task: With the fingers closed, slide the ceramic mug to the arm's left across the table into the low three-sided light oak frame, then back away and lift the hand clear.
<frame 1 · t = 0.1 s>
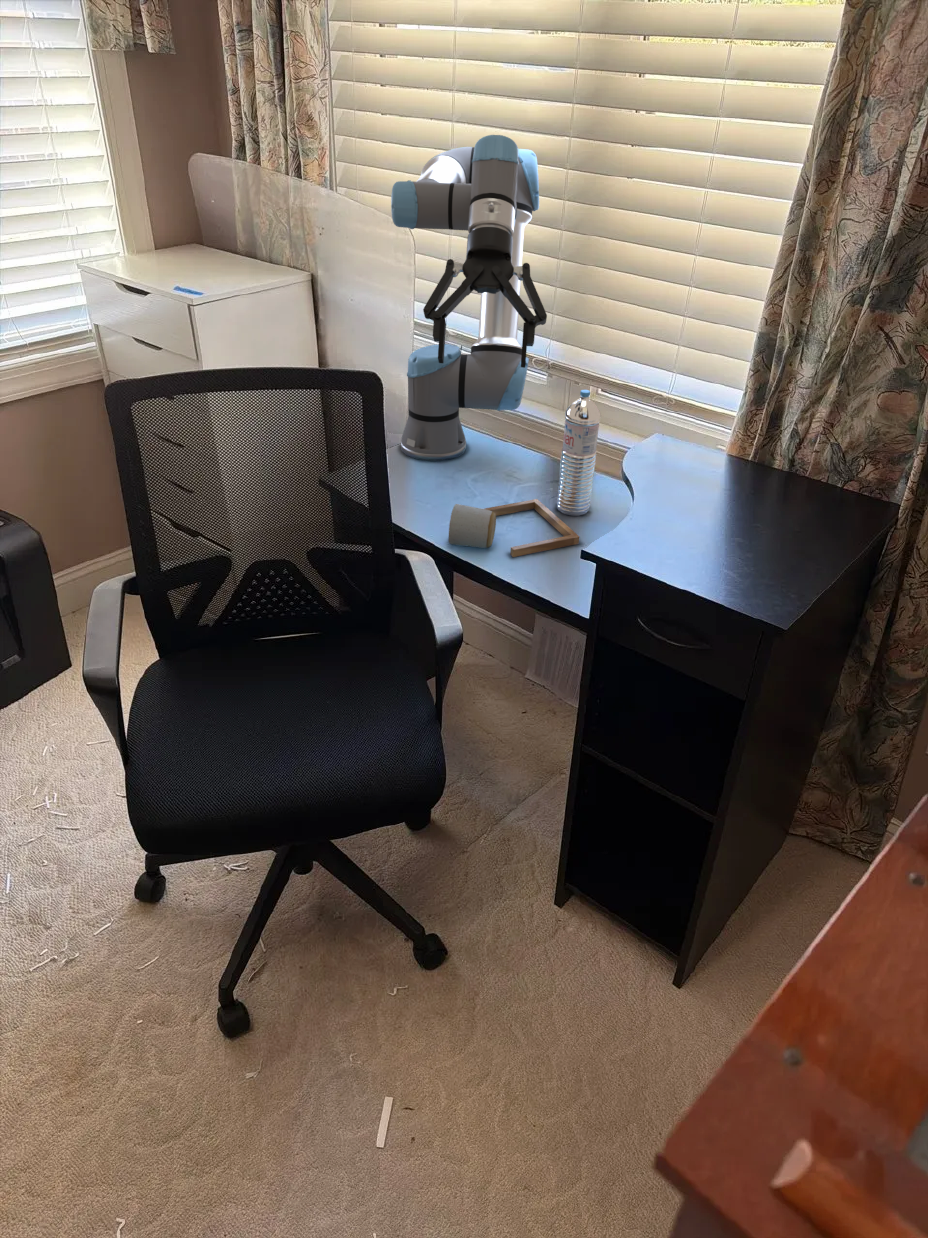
hand: (481, 362, 140), 36 cm above the table, tool tilted 35°, fingers open, 13 cm apart
water bottle: (572, 510, 176), on the table
ceramic mug: (471, 541, 164), on the table
oak frame: (522, 530, 168), on the table
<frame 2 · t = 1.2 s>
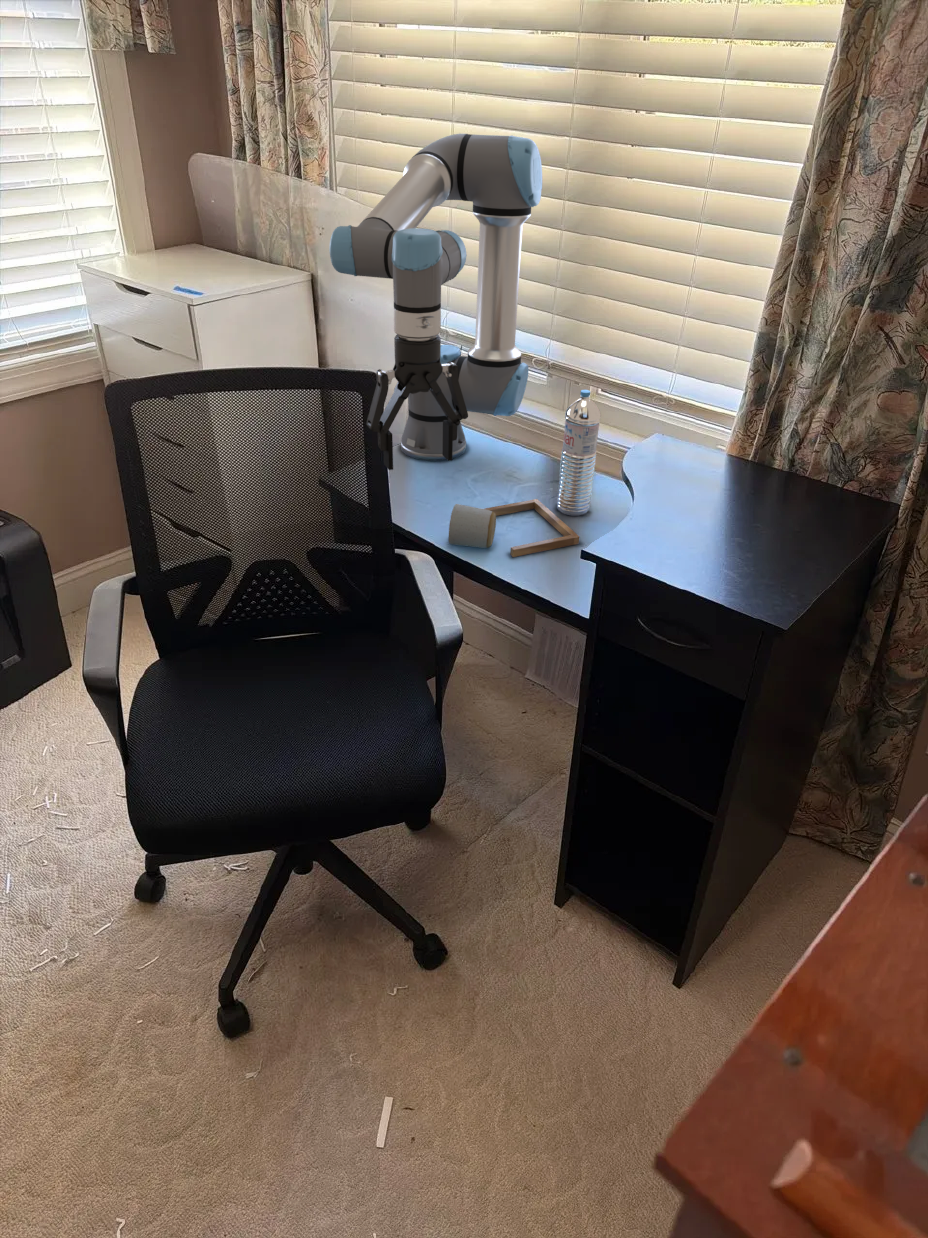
hand: (418, 462, 150), 18 cm above the table, tool pointing down, fingers open, 10 cm apart
nothing on the table moved.
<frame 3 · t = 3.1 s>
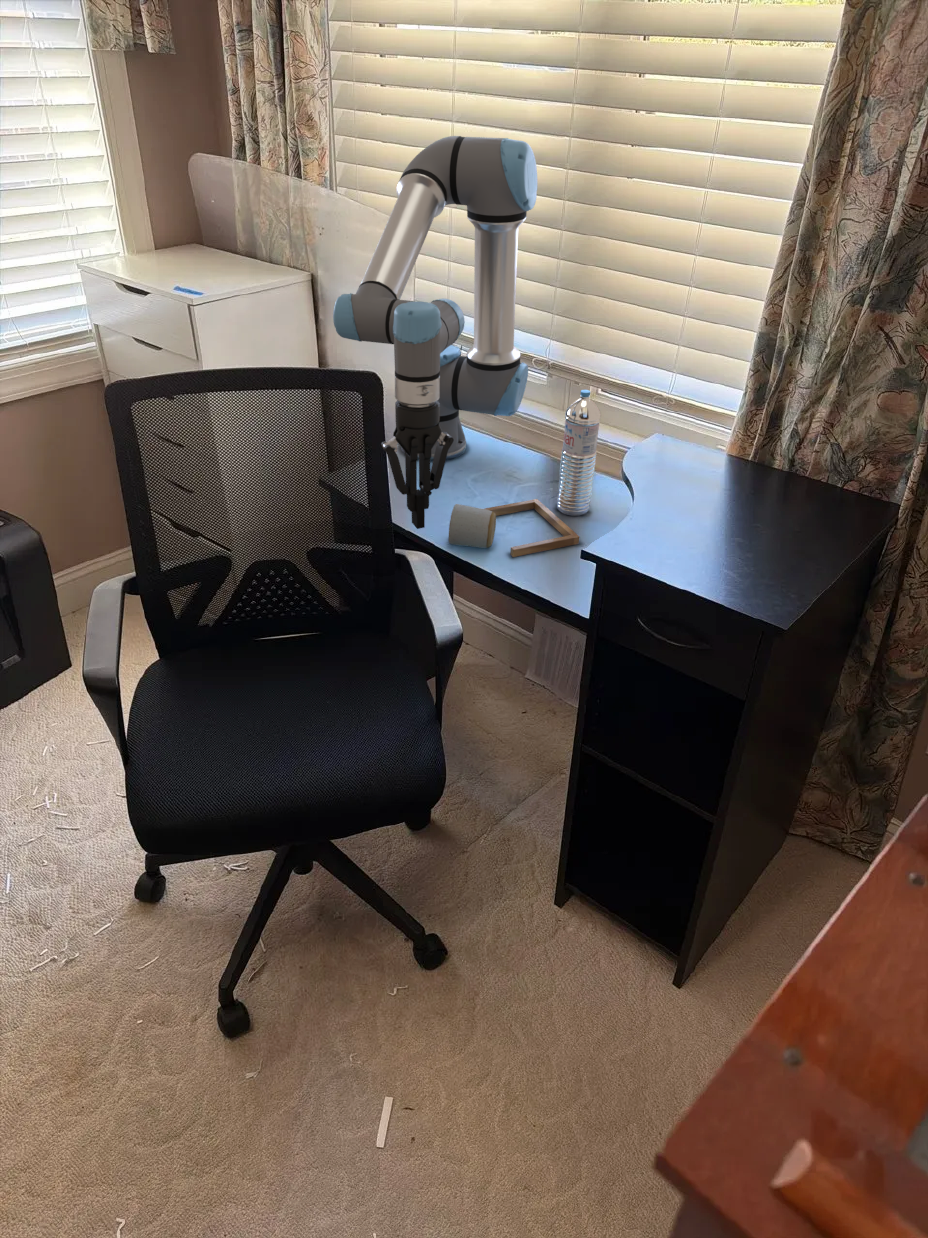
hand: (418, 524, 157), 6 cm above the table, tool pointing down, fingers closed
nothing on the table moved.
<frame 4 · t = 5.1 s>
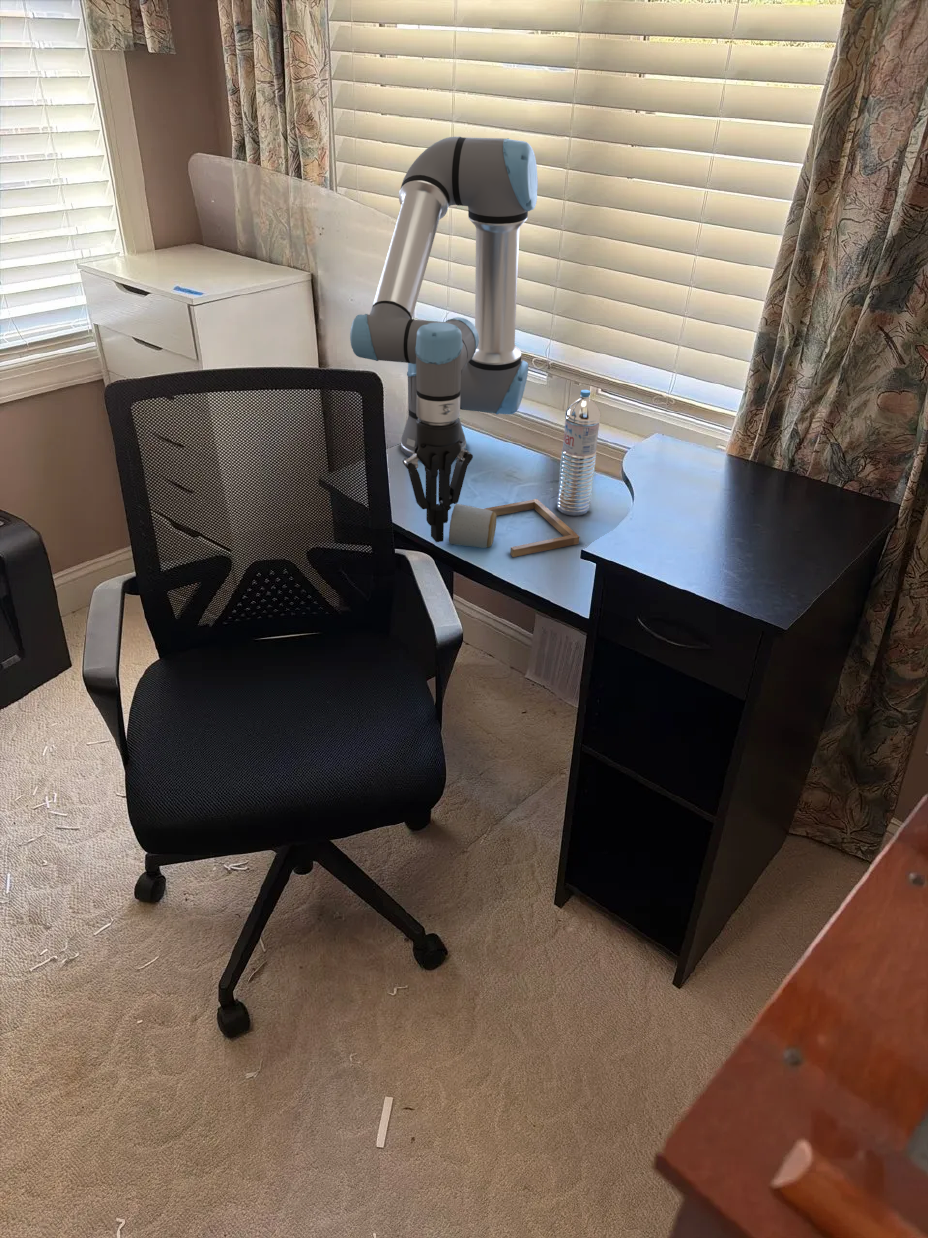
hand: (437, 538, 160), 2 cm above the table, tool pointing down, fingers closed
ceramic mug: (471, 541, 164), on the table, touching gripper
everything else where it was.
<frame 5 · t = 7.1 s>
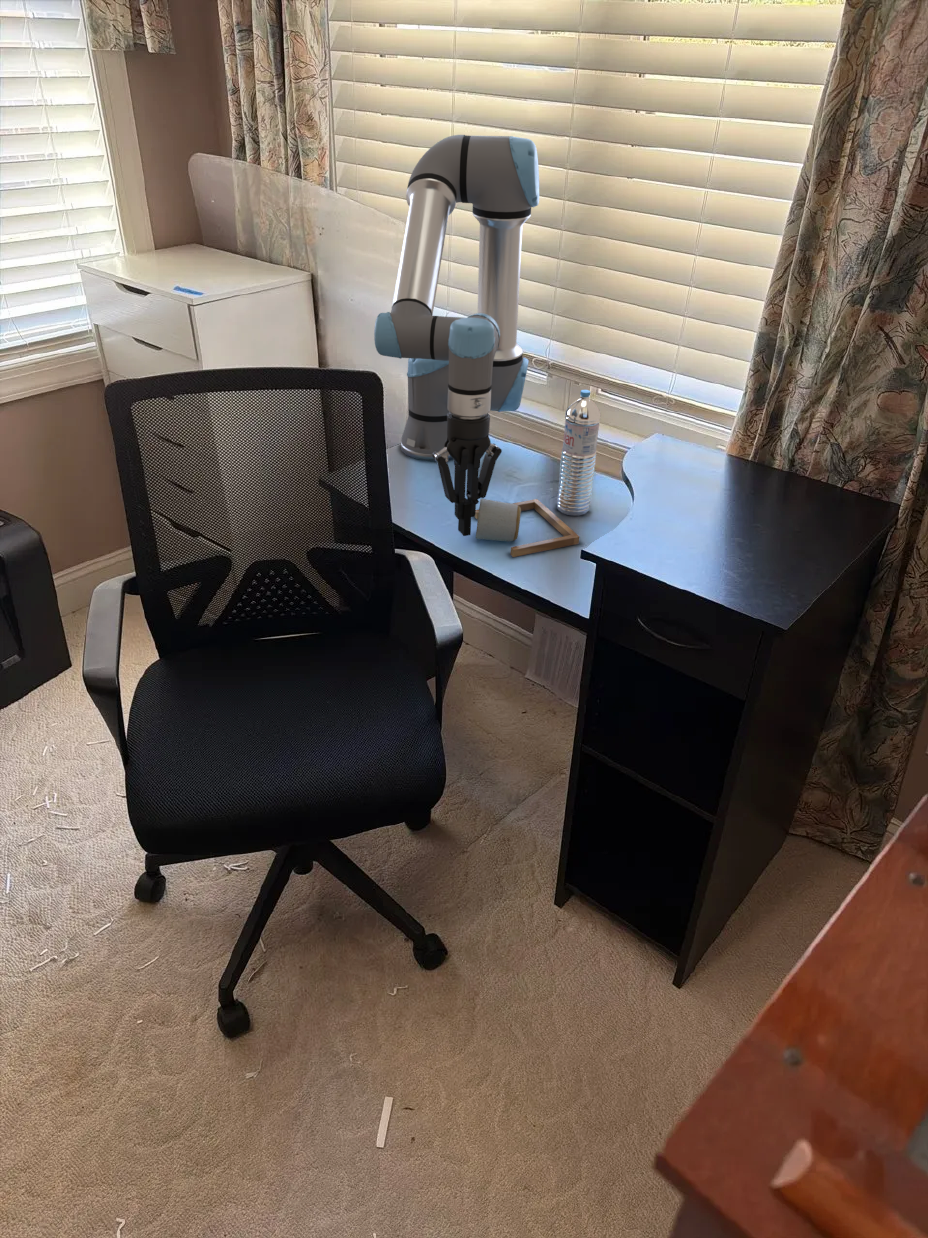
hand: (464, 532, 162), 2 cm above the table, tool pointing down, fingers closed
ceramic mug: (495, 535, 166), on the table, touching gripper
everything else where it was.
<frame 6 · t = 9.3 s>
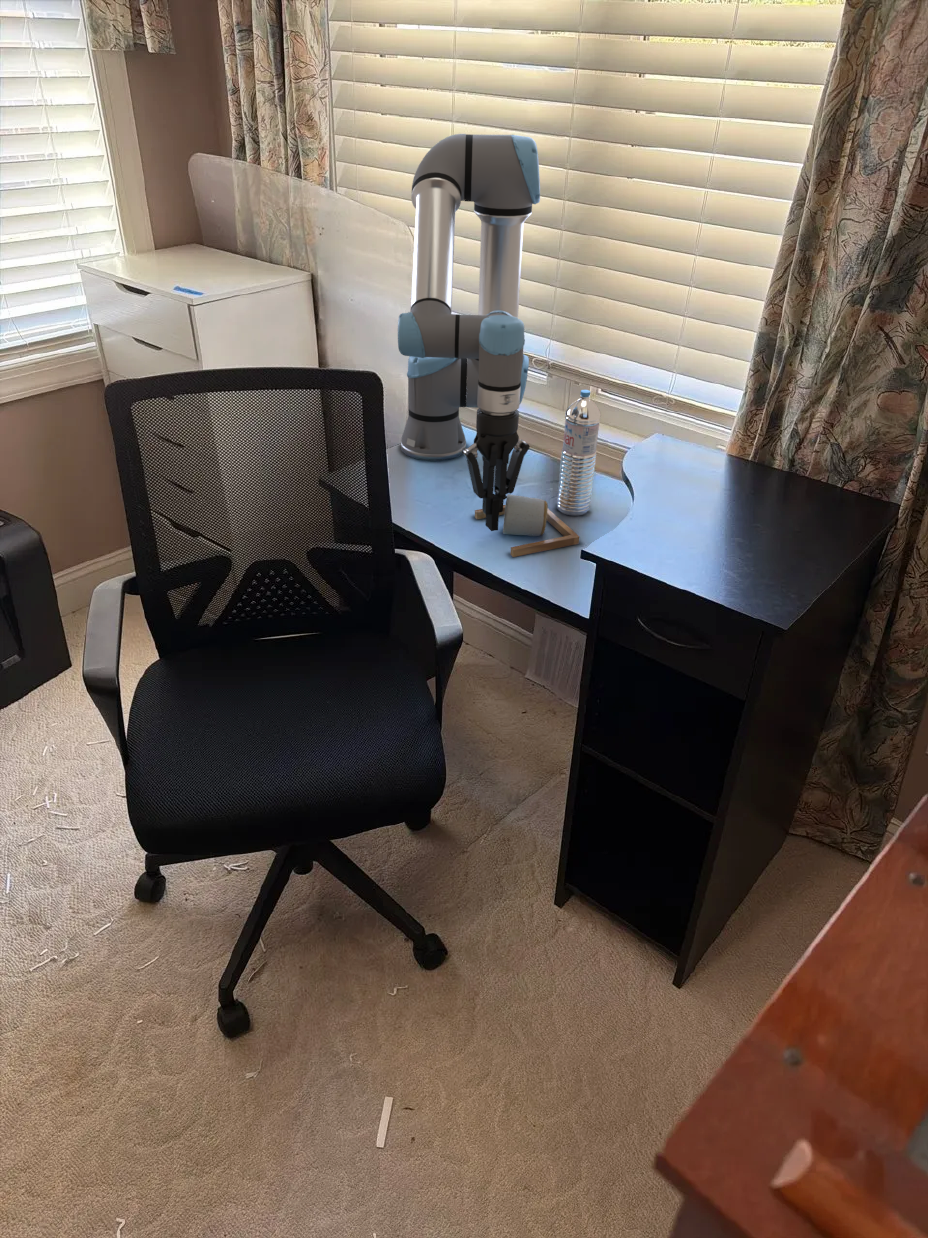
hand: (491, 527, 164), 2 cm above the table, tool pointing down, fingers closed
ceramic mug: (521, 530, 168), on the table, touching gripper
everything else where it was.
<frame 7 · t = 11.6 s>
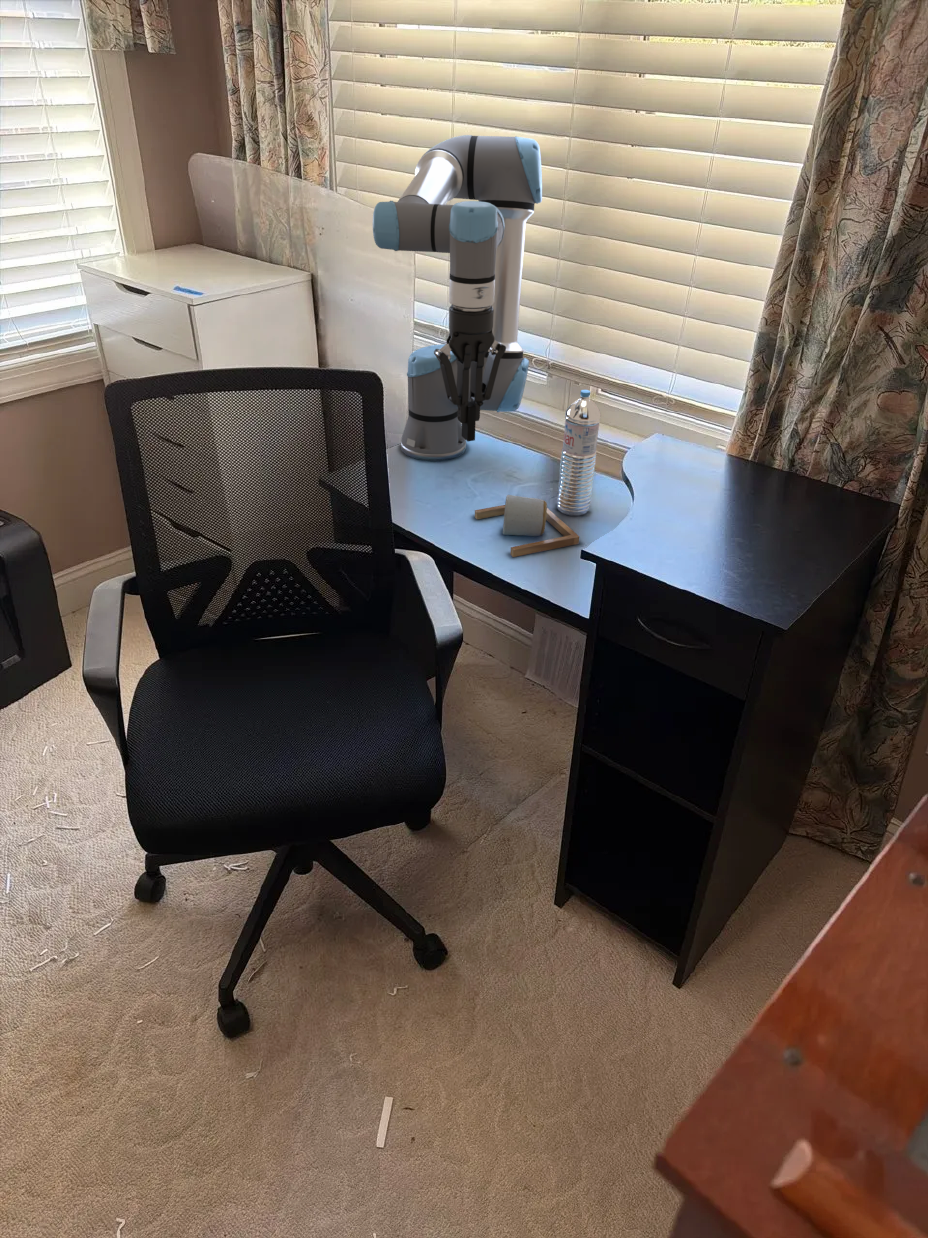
hand: (468, 437, 156), 19 cm above the table, tool pointing down, fingers closed
ceramic mug: (521, 530, 168), on the table
everything else where it was.
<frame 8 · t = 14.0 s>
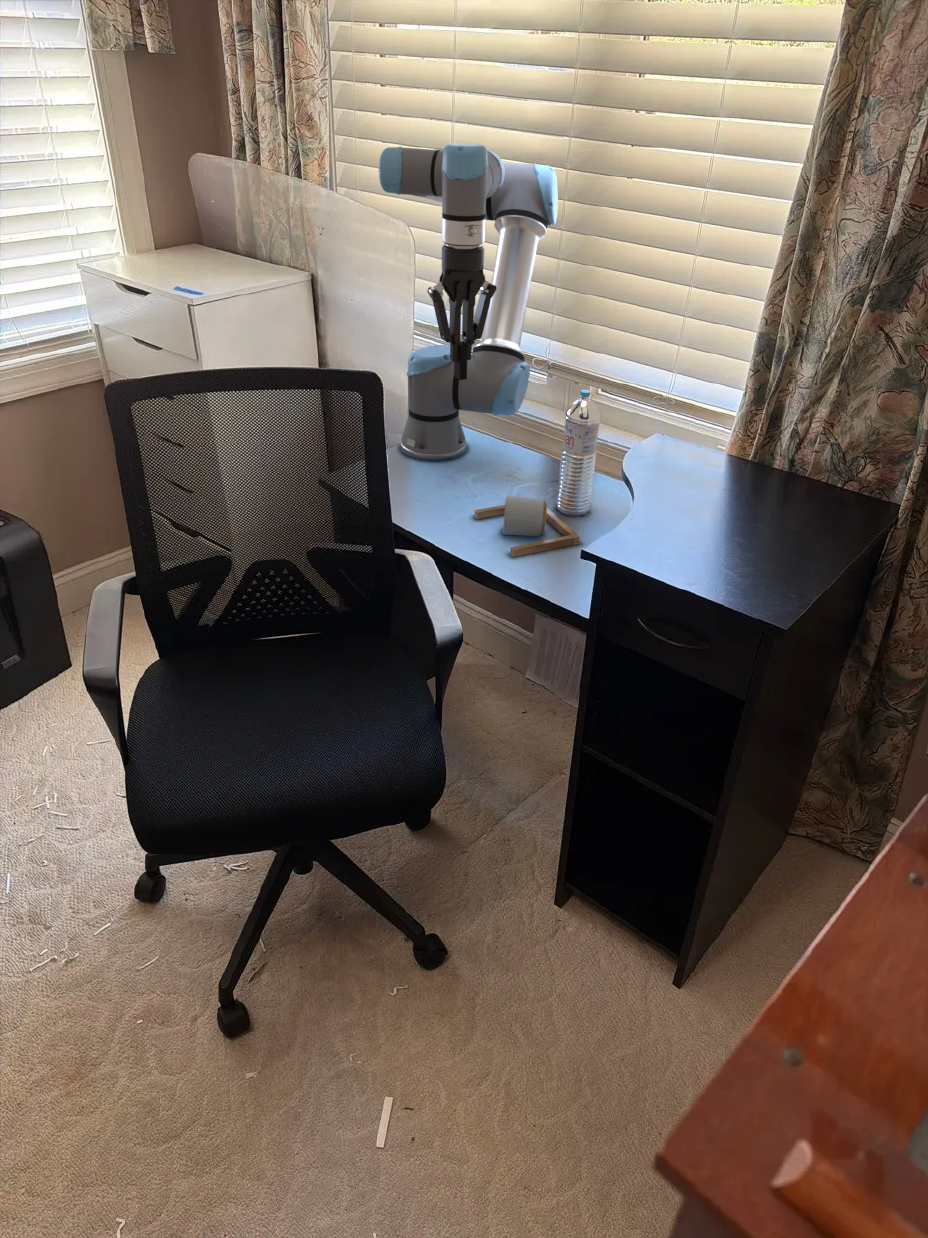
hand: (460, 377, 162), 26 cm above the table, tool pointing down, fingers closed
nothing on the table moved.
at the end: ceramic mug inside the target area on the oak frame (0.4 cm from its centre), point 0.0 cm above the oak frame's base; ceramic mug tilted 0°; water bottle moved 0.2 cm from its start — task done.
